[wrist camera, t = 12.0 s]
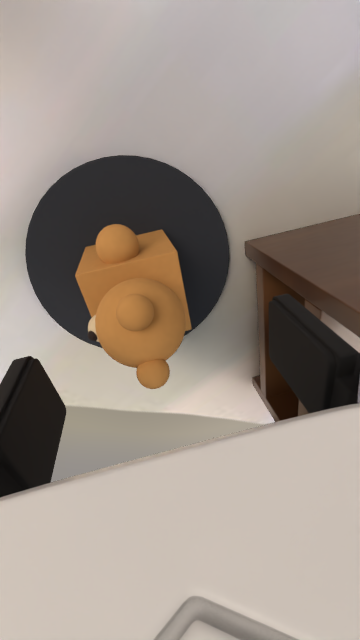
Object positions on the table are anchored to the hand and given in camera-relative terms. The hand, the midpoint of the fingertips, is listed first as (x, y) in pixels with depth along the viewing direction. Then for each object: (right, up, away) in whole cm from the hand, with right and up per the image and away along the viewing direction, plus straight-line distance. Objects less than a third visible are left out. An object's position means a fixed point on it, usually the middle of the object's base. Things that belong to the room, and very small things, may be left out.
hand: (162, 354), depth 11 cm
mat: (-3, +5, +10) cm, 12 cm away
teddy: (-3, +5, +10) cm, 11 cm away
